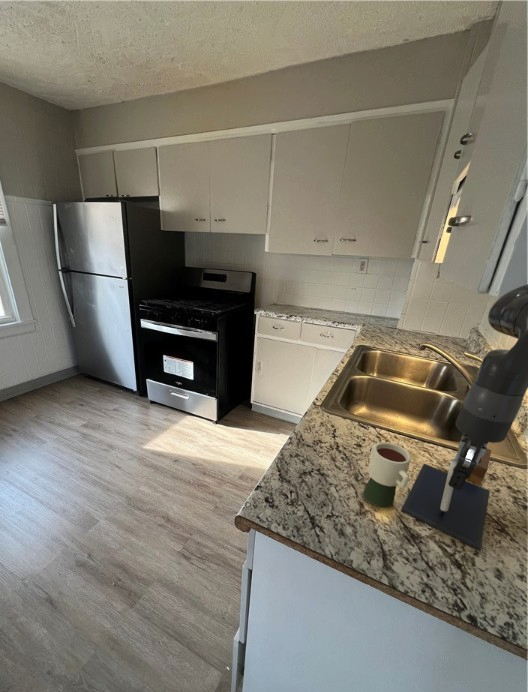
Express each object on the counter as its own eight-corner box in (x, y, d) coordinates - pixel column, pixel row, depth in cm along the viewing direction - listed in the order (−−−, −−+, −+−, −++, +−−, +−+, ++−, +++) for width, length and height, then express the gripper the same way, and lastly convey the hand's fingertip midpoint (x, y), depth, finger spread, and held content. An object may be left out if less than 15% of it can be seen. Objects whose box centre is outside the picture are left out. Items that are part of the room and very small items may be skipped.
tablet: (423, 465, 81) (423, 463, 81) (488, 492, 73) (490, 490, 73) (400, 511, 67) (401, 508, 67) (479, 551, 59) (480, 547, 59)
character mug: (408, 515, 66) (426, 467, 60) (379, 521, 64) (395, 472, 59) (376, 479, 75) (389, 435, 70) (350, 484, 74) (361, 438, 68)
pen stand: (458, 455, 85) (464, 440, 83) (484, 465, 82) (491, 450, 80) (452, 474, 78) (458, 458, 76) (479, 485, 75) (487, 469, 73)
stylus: (439, 509, 67) (451, 458, 62) (447, 512, 66) (460, 460, 61) (438, 513, 66) (450, 461, 61) (446, 516, 65) (459, 464, 60)
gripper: (514, 434, 48) (473, 515, 56) (516, 403, 58) (481, 475, 65) (457, 416, 52) (426, 493, 60) (468, 390, 62) (440, 459, 69)
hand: (455, 484), depth 63 cm, fingers closed on stylus, 1 cm apart
